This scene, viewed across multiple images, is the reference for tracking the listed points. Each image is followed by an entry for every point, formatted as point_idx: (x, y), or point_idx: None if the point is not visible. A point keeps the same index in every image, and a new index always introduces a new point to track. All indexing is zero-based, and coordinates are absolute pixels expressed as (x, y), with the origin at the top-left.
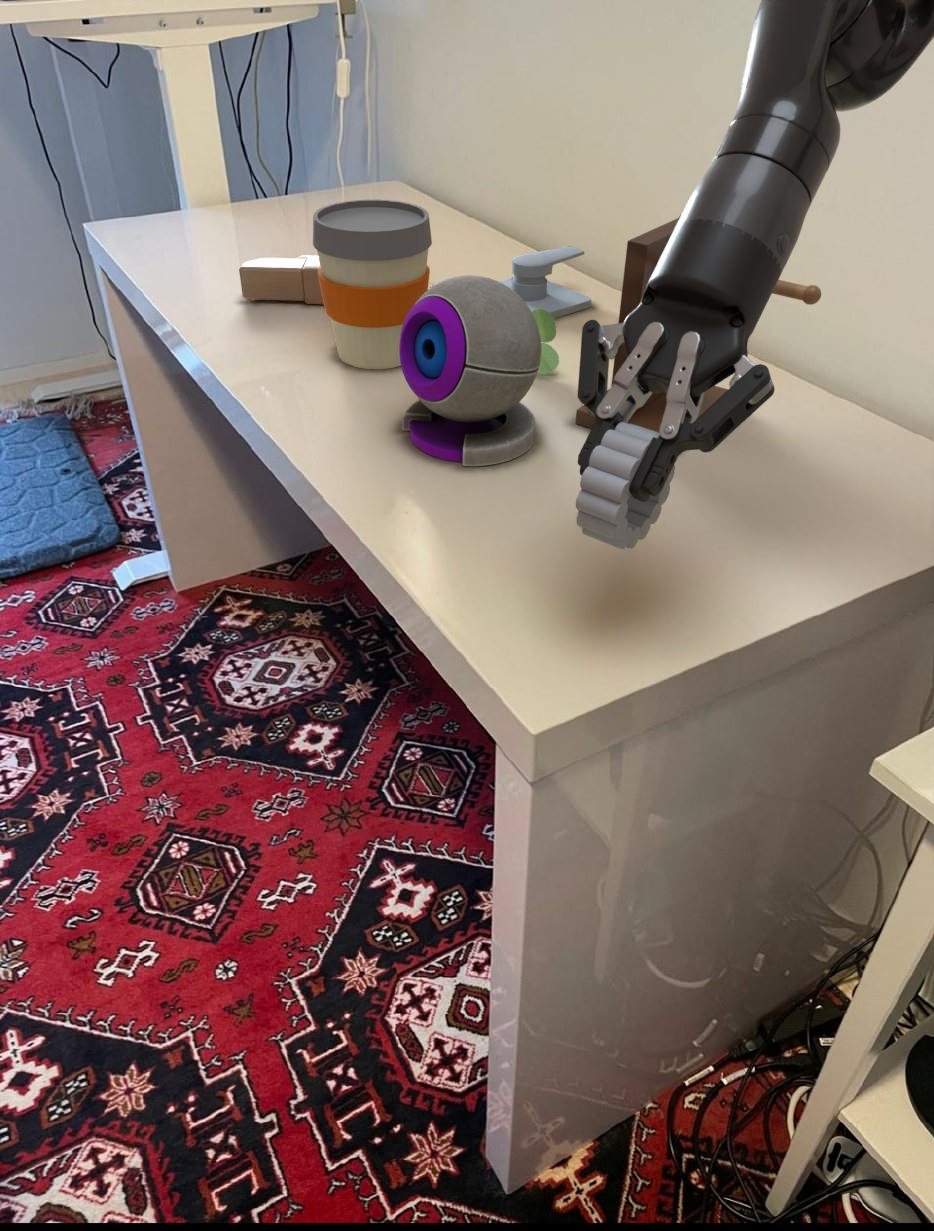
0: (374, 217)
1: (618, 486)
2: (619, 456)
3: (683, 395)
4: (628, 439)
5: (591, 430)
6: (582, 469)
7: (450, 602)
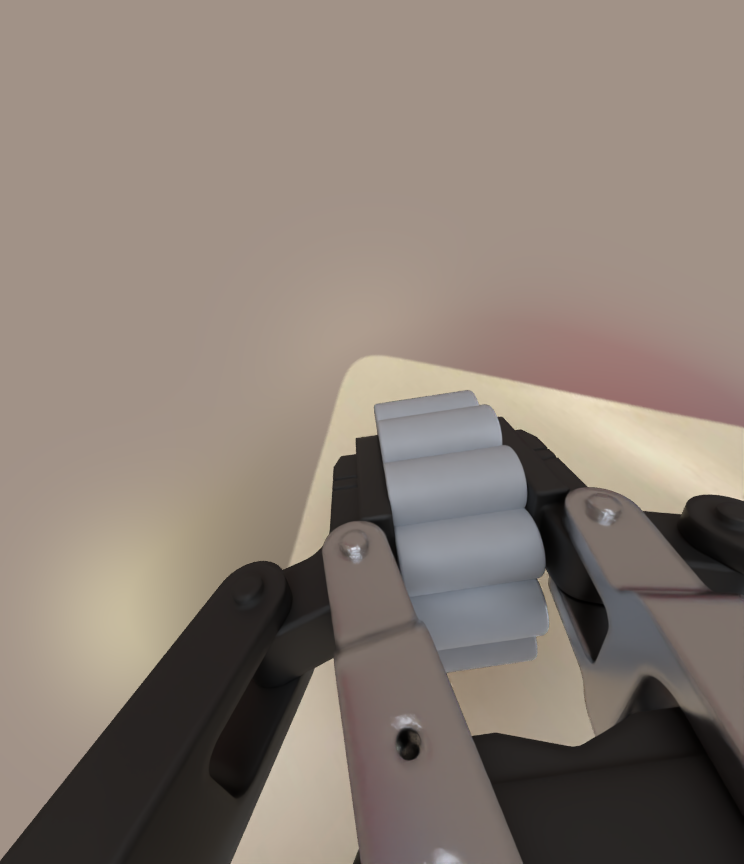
0: None
1: (384, 404)
2: (425, 427)
3: (342, 662)
4: (446, 473)
5: (574, 476)
6: None
7: (541, 411)
